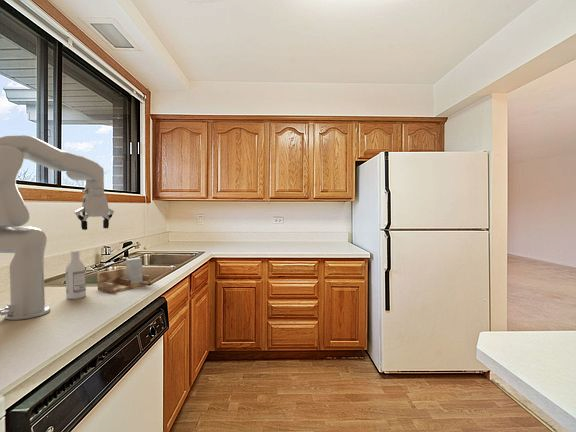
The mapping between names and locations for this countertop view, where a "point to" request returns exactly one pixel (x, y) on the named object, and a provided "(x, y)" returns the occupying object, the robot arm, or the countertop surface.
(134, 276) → the skincare box
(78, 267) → the bath foam
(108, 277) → the rack
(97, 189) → the robot arm
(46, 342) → the countertop surface
